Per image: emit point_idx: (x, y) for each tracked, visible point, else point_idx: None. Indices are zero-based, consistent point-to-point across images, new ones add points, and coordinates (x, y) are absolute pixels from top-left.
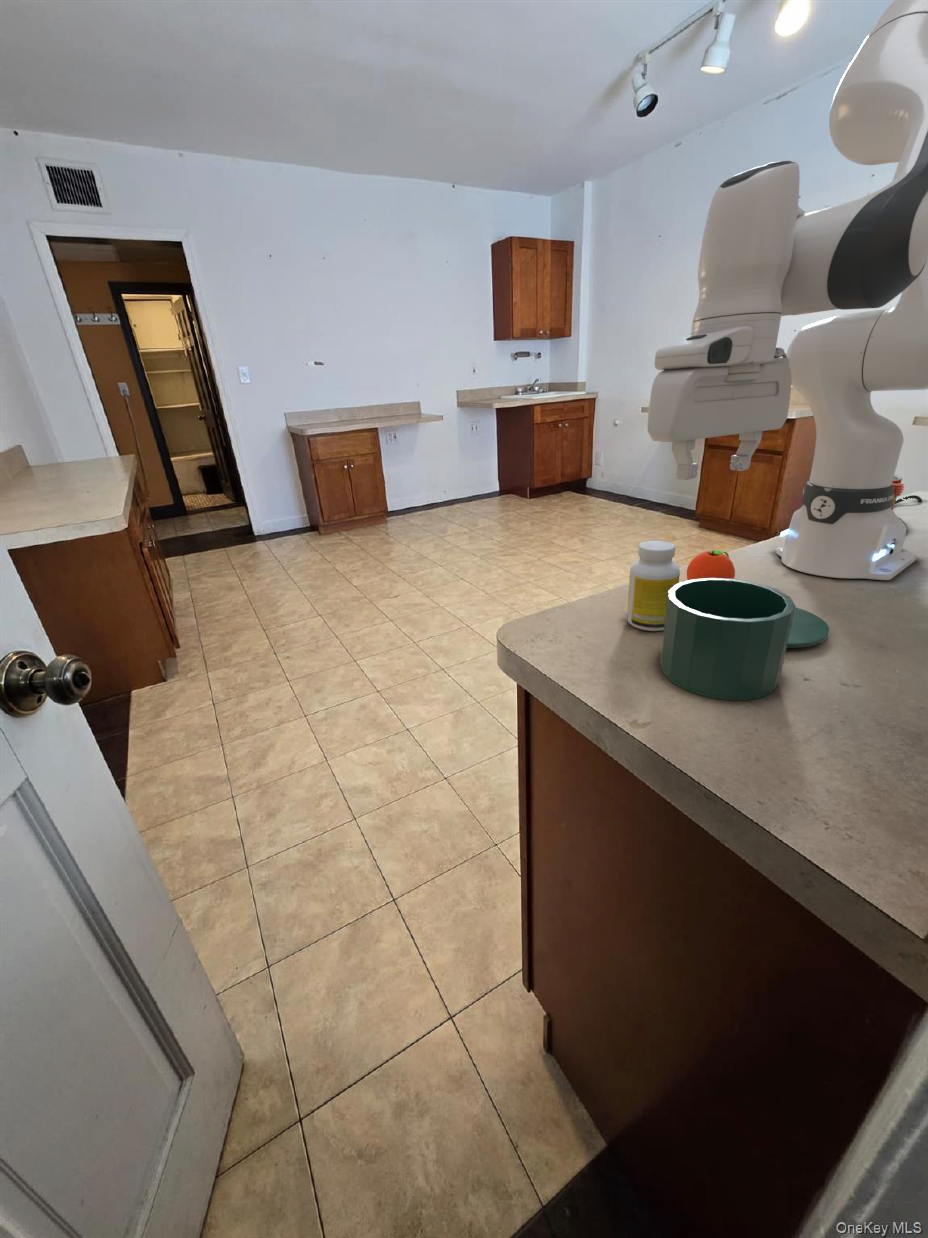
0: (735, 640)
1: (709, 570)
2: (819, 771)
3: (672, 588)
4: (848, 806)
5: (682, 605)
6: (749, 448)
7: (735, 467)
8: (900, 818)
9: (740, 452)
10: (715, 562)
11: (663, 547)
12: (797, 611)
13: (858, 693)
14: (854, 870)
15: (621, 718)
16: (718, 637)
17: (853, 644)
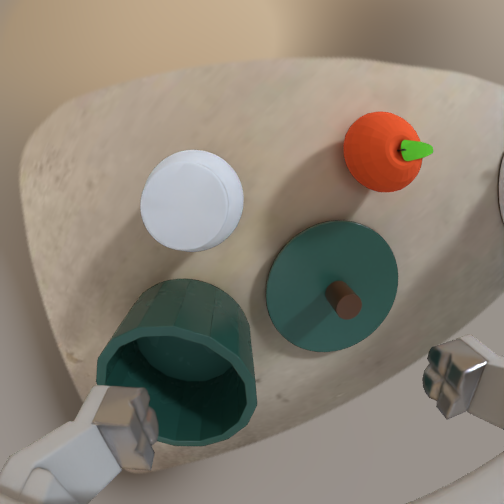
0: None
1: (364, 172)
2: None
3: (121, 338)
4: (154, 451)
5: (102, 382)
6: (494, 414)
7: (433, 368)
8: (172, 462)
9: (489, 382)
10: (382, 173)
11: (183, 230)
12: (387, 288)
13: (274, 407)
14: None
15: (63, 346)
16: None
17: (365, 351)
